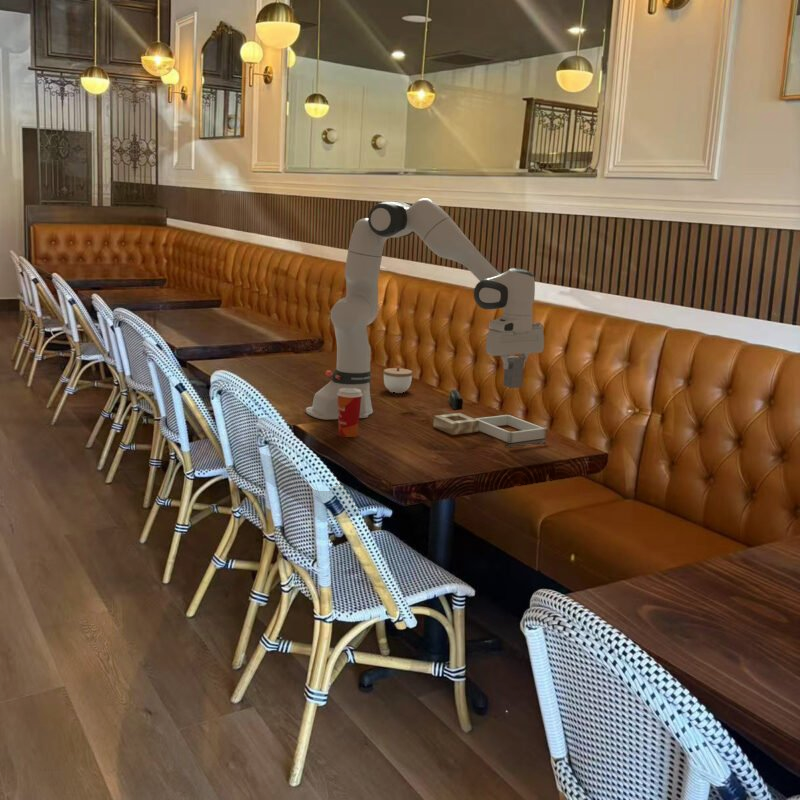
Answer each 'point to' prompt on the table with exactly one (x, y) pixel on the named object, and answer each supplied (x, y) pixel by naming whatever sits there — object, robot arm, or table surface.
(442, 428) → the socket block
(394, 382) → the lidded jar
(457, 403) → the mobile phone
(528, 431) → the grey tray
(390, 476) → the table surface
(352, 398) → the paper cup
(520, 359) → the pin
